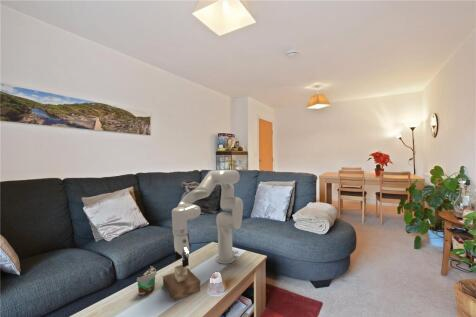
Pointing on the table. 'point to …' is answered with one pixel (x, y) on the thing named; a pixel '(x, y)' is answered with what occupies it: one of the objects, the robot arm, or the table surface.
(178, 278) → the birch block
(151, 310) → the table surface
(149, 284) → the food container
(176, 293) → the walnut box
